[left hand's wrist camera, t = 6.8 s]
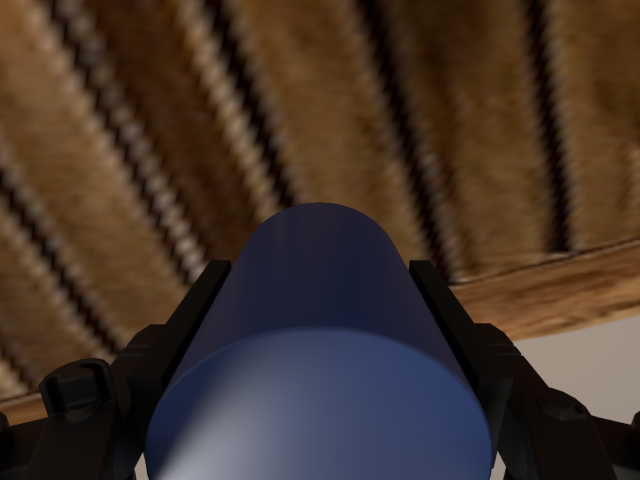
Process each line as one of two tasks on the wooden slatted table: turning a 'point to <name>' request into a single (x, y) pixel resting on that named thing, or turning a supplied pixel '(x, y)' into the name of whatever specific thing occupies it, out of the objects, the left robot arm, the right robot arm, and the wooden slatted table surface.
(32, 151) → the wooden slatted table surface
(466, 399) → the canister
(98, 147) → the wooden slatted table surface
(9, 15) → the wooden slatted table surface
